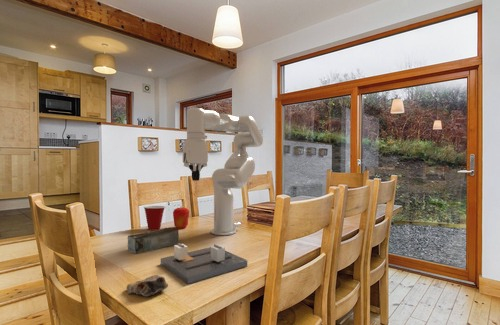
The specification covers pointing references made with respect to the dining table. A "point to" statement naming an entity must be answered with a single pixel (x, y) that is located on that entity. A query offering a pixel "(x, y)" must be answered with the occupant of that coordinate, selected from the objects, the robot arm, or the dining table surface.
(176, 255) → the fader cream
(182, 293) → the dining table surface
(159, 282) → the rock
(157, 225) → the plastic cup
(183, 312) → the dining table surface
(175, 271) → the console
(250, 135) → the robot arm
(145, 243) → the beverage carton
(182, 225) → the apple
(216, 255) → the white block
